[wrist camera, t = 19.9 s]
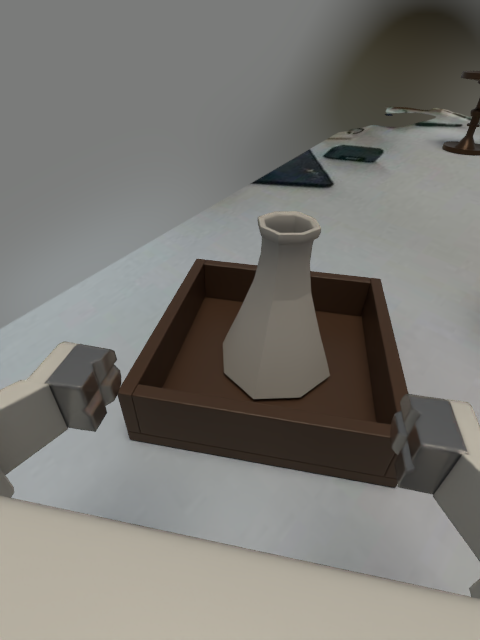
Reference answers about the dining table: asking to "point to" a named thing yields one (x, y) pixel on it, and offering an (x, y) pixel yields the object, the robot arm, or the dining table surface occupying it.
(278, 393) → the flask
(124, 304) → the dining table surface
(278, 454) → the tray
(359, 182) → the dining table surface
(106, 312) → the dining table surface
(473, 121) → the candlestick
